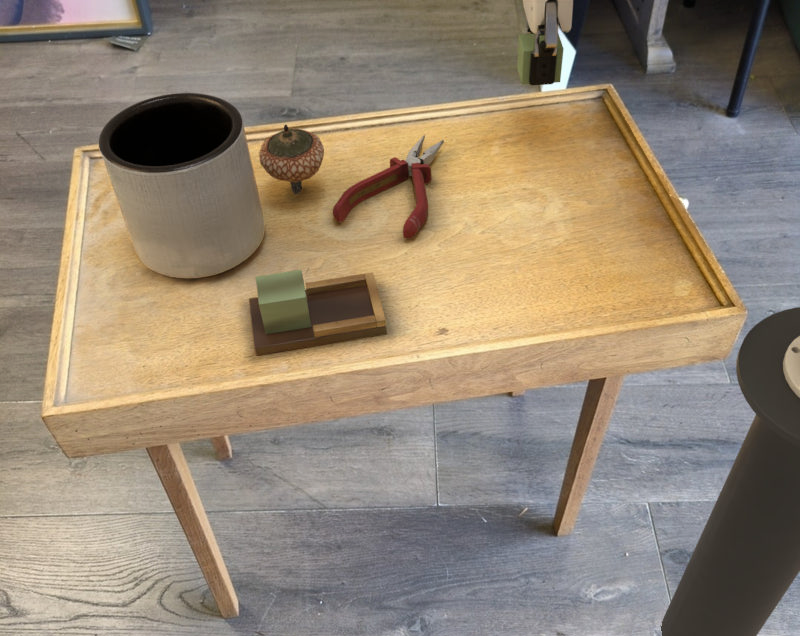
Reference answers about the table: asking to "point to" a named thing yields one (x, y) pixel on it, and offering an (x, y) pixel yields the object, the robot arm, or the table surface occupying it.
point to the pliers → (392, 177)
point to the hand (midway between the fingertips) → (538, 72)
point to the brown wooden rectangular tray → (313, 311)
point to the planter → (184, 183)
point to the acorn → (292, 156)
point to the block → (525, 55)
